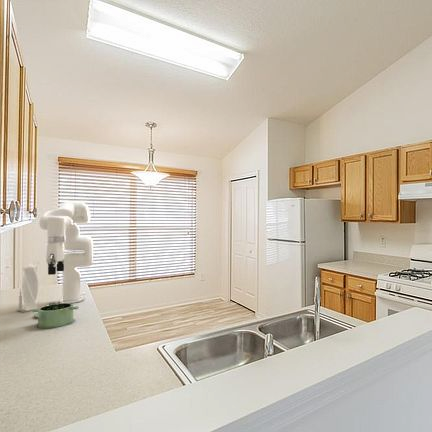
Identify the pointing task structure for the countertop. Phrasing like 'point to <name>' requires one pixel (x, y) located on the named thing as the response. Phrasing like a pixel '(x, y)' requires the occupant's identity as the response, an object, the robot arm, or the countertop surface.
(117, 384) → the countertop surface
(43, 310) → the pot
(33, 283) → the skyscraper
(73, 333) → the countertop surface
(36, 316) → the pot lid
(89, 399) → the countertop surface
